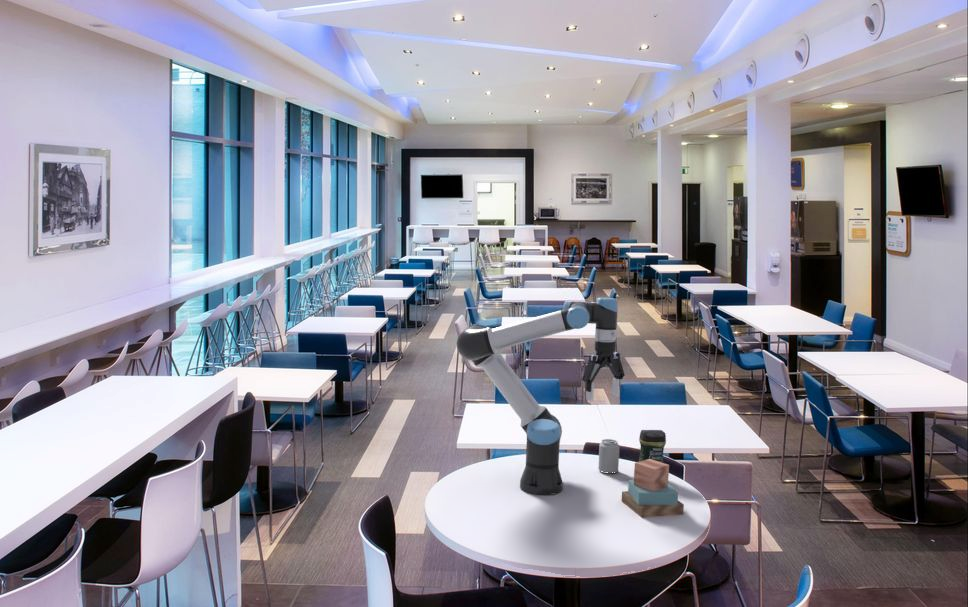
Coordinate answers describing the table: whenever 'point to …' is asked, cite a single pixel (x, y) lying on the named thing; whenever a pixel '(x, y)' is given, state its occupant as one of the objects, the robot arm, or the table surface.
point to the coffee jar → (652, 445)
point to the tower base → (651, 507)
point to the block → (651, 475)
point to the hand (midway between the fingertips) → (602, 398)
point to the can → (608, 456)
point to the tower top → (653, 495)
